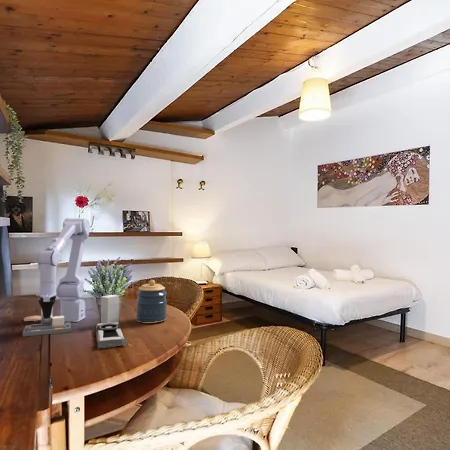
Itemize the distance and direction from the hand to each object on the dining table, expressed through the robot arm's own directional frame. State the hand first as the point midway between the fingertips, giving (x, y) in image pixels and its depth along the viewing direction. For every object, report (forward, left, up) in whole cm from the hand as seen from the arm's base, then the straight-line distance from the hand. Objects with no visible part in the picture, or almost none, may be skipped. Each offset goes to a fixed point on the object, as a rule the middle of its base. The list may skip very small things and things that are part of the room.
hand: (47, 317), depth 139 cm
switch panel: (0, 0, -5) cm, 5 cm away
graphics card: (-27, +5, -6) cm, 28 cm away
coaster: (+15, -15, -5) cm, 22 cm away
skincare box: (-20, -11, -6) cm, 24 cm away
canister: (-35, -20, -6) cm, 41 cm away
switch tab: (-3, -2, -4) cm, 5 cm away
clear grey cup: (0, 0, -2) cm, 2 cm away
